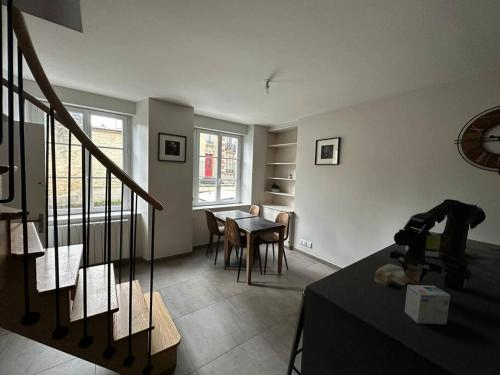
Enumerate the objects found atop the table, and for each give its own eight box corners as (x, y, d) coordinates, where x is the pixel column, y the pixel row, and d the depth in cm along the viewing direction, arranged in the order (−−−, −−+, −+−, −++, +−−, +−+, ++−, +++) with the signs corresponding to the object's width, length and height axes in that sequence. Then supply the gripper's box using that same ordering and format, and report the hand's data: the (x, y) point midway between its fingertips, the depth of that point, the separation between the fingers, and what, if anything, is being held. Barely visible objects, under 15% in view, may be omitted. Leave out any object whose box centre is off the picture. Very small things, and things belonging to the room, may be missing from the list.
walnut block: (421, 282, 96) (423, 271, 96) (418, 285, 93) (419, 274, 93) (408, 277, 100) (409, 267, 100) (404, 280, 97) (405, 269, 97)
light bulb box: (430, 312, 82) (434, 284, 82) (447, 325, 76) (451, 295, 75) (403, 311, 82) (406, 283, 81) (417, 324, 75) (421, 294, 74)
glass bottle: (469, 254, 151) (475, 214, 149) (458, 258, 142) (464, 216, 140) (437, 246, 166) (442, 209, 164) (426, 249, 158) (431, 210, 155)
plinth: (414, 277, 110) (415, 271, 110) (404, 285, 102) (405, 278, 102) (388, 268, 120) (388, 262, 120) (376, 274, 111) (377, 268, 111)
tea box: (427, 252, 152) (430, 231, 150) (438, 257, 142) (441, 235, 140) (404, 249, 153) (407, 229, 152) (413, 255, 143) (416, 233, 142)
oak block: (390, 283, 103) (391, 273, 103) (385, 286, 100) (387, 275, 100) (379, 278, 107) (380, 268, 107) (374, 281, 104) (375, 271, 104)
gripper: (386, 241, 98) (382, 275, 99) (440, 255, 83) (435, 295, 84) (396, 237, 104) (392, 269, 106) (447, 250, 90) (442, 287, 91)
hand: (413, 279), depth 96 cm, fingers closed on walnut block, 5 cm apart
